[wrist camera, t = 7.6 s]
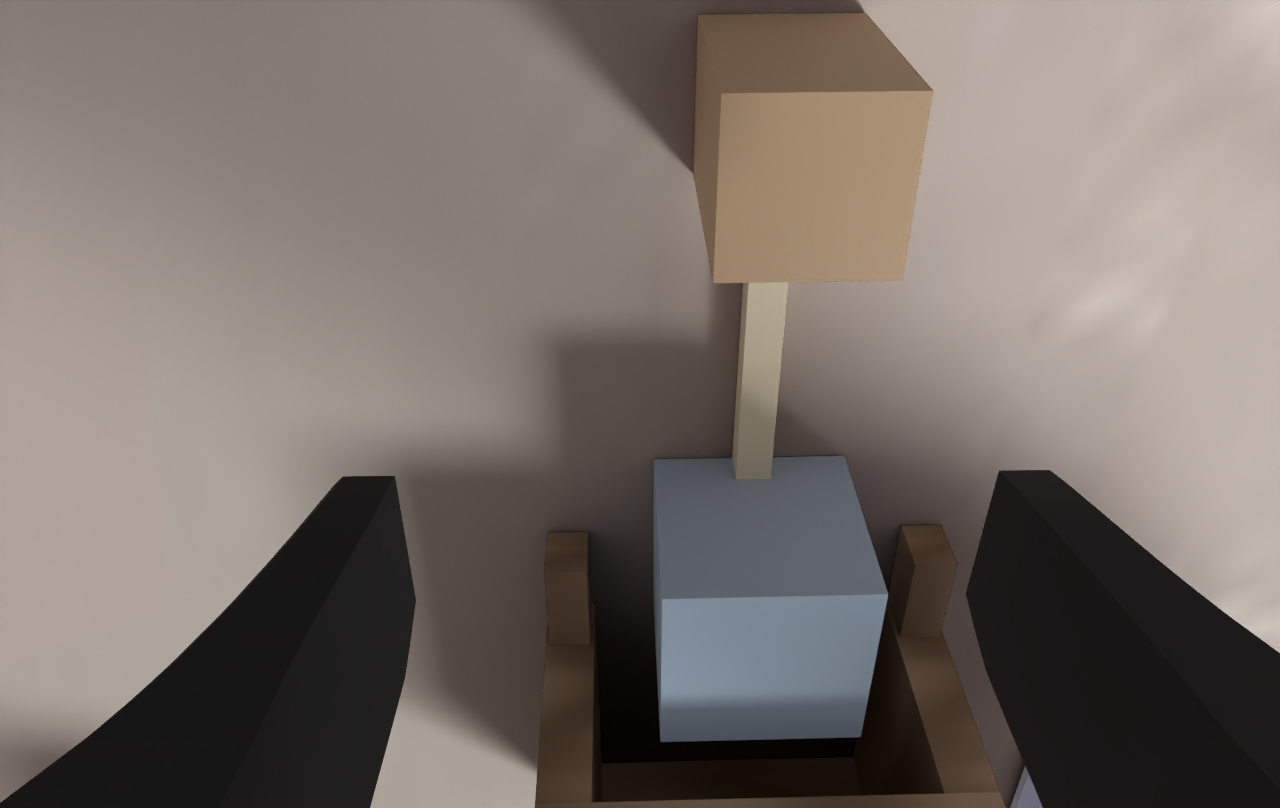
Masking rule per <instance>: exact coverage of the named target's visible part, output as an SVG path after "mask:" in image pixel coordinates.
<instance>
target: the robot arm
mask: <svg viewBox="0 0 1280 808" xmlns="http://www.w3.org/2000/svg"><path fill="white" fill-rule="evenodd" d="M966 596H967V600H968V604H969V608H970V612H971V616H972V620H973V624H974V628H975V632H976V636H977V640H978V643H979V647H980V650H981V654H982V657H983V661H984V664H985V668H986V671H987V674H988V676H989V679H990V681H991V684H992V686H993V689H994V691H995V694H996V696H997V699H998V701H999V703H1000V706H1001V708H1002V711H1003V713H1004V716H1005V718H1006V721H1007V723H1008V726H1009V728H1010V730H1011V733H1012V735H1013V738H1014V740H1015V742H1016V745H1017V747H1018V750H1019V752H1020V754H1021V757H1022V759H1023V761H1024V764H1025V767H1024V770H1023V773H1022V776H1021V778H1020V781H1019V784H1018V787H1017V790H1016V793H1015V796H1014V798H1013V801H1012V804H1011V807H1010V808H1280V653H1279V652H1277V651H1276V650H1274V649H1273V648H1272V647H1270V646H1269V645H1268V644H1266V643H1265V642H1264V641H1262V640H1261V639H1259V638H1258V637H1257V636H1255V635H1254V634H1253V633H1251V632H1250V631H1249V630H1247V629H1246V628H1244V627H1243V626H1242V625H1240V624H1239V623H1238V622H1236V621H1235V620H1234V619H1232V618H1231V617H1229V616H1228V615H1227V614H1226V613H1224V612H1223V611H1222V610H1220V609H1219V608H1218V607H1216V606H1215V605H1214V604H1213V603H1211V602H1210V601H1209V600H1207V599H1206V598H1205V597H1204V596H1202V595H1201V594H1200V593H1198V592H1197V591H1196V590H1195V589H1193V588H1192V587H1191V586H1190V585H1188V584H1187V583H1186V582H1185V581H1183V580H1182V579H1181V578H1180V577H1178V576H1177V575H1176V574H1175V573H1173V572H1172V571H1171V570H1170V569H1169V568H1167V567H1166V566H1165V565H1164V564H1162V563H1161V562H1160V561H1159V560H1158V559H1156V558H1155V557H1154V556H1153V555H1152V554H1150V553H1149V552H1148V551H1147V550H1146V549H1144V548H1143V547H1142V546H1141V545H1139V544H1138V543H1137V542H1136V541H1135V540H1134V539H1132V538H1131V537H1130V536H1129V535H1128V534H1126V533H1125V532H1124V531H1123V530H1122V529H1120V528H1119V527H1118V526H1117V525H1116V524H1115V523H1113V522H1112V521H1111V520H1110V519H1109V518H1107V517H1106V516H1105V515H1104V514H1103V513H1102V512H1100V511H1099V510H1098V509H1097V508H1096V507H1094V506H1093V505H1092V504H1091V503H1090V502H1088V501H1087V500H1086V499H1085V498H1084V497H1083V496H1081V495H1080V494H1079V493H1078V492H1076V491H1075V490H1074V489H1073V488H1072V487H1070V486H1069V485H1068V484H1067V483H1065V482H1064V481H1063V480H1062V479H1060V478H1059V477H1058V476H1057V475H1055V474H1054V473H1053V472H1051V471H1050V470H1020V471H999V473H998V477H997V480H996V484H995V488H994V491H993V495H992V499H991V503H990V506H989V510H988V514H987V517H986V521H985V525H984V529H983V532H982V536H981V540H980V543H979V547H978V551H977V555H976V558H975V562H974V566H973V569H972V573H971V577H970V581H969V584H968V588H967V592H966ZM415 603H416V598H415V592H414V586H413V581H412V575H411V569H410V563H409V557H408V551H407V545H406V539H405V534H404V528H403V522H402V516H401V510H400V504H399V498H398V492H397V486H396V481H395V476H353V477H342V478H341V479H340V480H339V481H338V482H337V483H336V484H335V485H334V486H333V487H332V488H331V490H330V491H329V492H328V493H327V494H326V496H325V497H324V498H323V499H322V500H321V501H320V503H319V504H318V505H317V506H316V507H315V509H314V510H313V511H312V512H311V513H310V515H309V516H308V517H307V518H306V519H305V521H304V522H303V523H302V524H301V525H300V527H299V528H298V529H297V530H296V531H295V532H294V534H293V535H292V536H291V537H290V538H289V539H288V541H287V542H286V543H285V544H284V545H283V546H282V548H281V549H280V550H279V551H278V552H277V553H276V554H275V556H274V557H273V558H272V559H271V560H270V561H269V562H268V563H267V565H266V566H265V567H264V568H263V569H262V570H261V571H260V572H259V573H258V574H257V576H256V577H255V578H254V579H253V580H252V581H251V582H250V583H249V584H248V586H247V587H246V588H245V589H244V590H243V591H242V592H241V593H240V594H239V595H238V597H237V598H236V599H235V600H234V601H233V602H232V603H231V604H230V605H229V606H228V607H227V608H226V609H225V610H224V611H223V612H222V614H221V615H220V616H219V617H218V618H217V619H216V620H215V621H214V622H213V623H212V624H211V625H210V626H209V627H208V628H207V629H206V630H205V631H204V632H202V634H200V635H199V636H198V637H197V638H196V639H195V640H194V641H193V642H192V643H191V644H190V645H189V646H188V647H187V648H186V649H185V650H184V651H183V652H182V653H181V654H180V655H179V656H178V657H177V658H176V659H175V660H174V661H173V662H172V663H171V664H170V665H169V666H168V667H167V668H166V669H165V670H164V671H163V672H162V673H161V674H159V675H158V676H157V677H156V678H155V679H154V680H153V681H152V682H151V683H150V684H149V685H148V686H146V687H145V688H144V689H143V690H142V691H141V692H140V693H139V694H138V695H136V696H135V697H134V698H133V699H132V700H131V701H130V702H128V703H127V704H126V705H125V706H124V707H123V708H121V709H120V710H119V711H118V712H117V713H116V714H114V715H113V716H112V717H111V718H110V719H109V720H107V721H106V722H105V723H104V724H103V725H102V726H100V727H99V728H98V729H97V730H96V731H94V732H93V733H92V734H91V735H89V736H88V737H87V738H86V739H84V740H83V741H82V742H81V743H79V744H78V745H77V746H75V747H74V748H73V749H71V750H70V751H69V752H67V753H66V754H65V755H63V756H62V757H61V758H59V759H58V760H57V761H55V762H54V763H53V764H51V765H50V766H49V767H47V768H46V769H45V770H43V771H42V772H41V773H39V774H38V775H37V776H35V777H34V778H33V779H31V780H30V781H29V782H27V783H26V784H25V785H23V786H22V787H21V788H19V789H18V790H17V791H15V792H14V793H13V794H11V795H10V796H9V797H8V798H6V799H5V800H4V801H2V802H1V803H0V808H370V806H371V802H372V798H373V795H374V791H375V787H376V784H377V780H378V776H379V773H380V769H381V765H382V762H383V758H384V754H385V751H386V747H387V743H388V740H389V736H390V732H391V728H392V725H393V721H394V717H395V713H396V710H397V706H398V702H399V698H400V695H401V691H402V687H403V683H404V679H405V674H406V667H407V660H408V654H409V647H410V640H411V633H412V625H413V618H414V610H415Z"/></svg>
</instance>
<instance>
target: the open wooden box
mask: <svg viewBox="0 0 1280 808" xmlns="http://www.w3.org/2000/svg"><path fill="white" fill-rule="evenodd" d="M956 568H957V562H956V560H955V557H954V555H953V552H952V550H951V547H950V545H949V543H948V540H947V538H946V535H945V533H944V530H943V528H942V526H941V525H903V526H901V529H900V534H899V540H898V545H897V550H896V555H895V560H894V566H893V571H892V576H891V581H890V586H889V592H888V599H887V604H886V609H885V614H884V619H883V624H882V629H881V635H880V640H879V645H878V650H877V655H876V660H875V666H874V671H873V676H872V681H871V686H870V691H869V697H868V702H867V707H866V712H865V717H864V722H863V728H862V733H861V737H857V740H856V745H855V751H854V756H853V757H843V758H802V759H761V760H720V761H679V762H639V763H602V759H601V736H600V713H599V690H598V667H597V643H596V620H595V603H591V594H590V572H589V550H588V532H559V533H547V542H546V555H545V568H544V577H545V590H546V602H547V614H548V625H547V639H546V654H545V668H544V683H543V697H542V712H541V727H540V741H539V756H538V770H537V785H536V800H535V808H1006V807H1005V804H1004V801H1003V799H1002V796H1001V793H1000V790H999V787H998V785H997V782H996V779H995V776H994V774H993V771H992V768H991V765H990V763H989V760H988V757H987V754H986V752H985V749H984V746H983V743H982V741H981V738H980V735H979V732H978V730H977V727H976V724H975V721H974V719H973V716H972V713H971V710H970V708H969V705H968V702H967V699H966V697H965V694H964V691H963V688H962V686H961V683H960V680H959V677H958V675H957V672H956V669H955V666H954V664H953V661H952V658H951V655H950V653H949V650H948V647H947V644H946V642H945V639H944V636H943V633H942V631H941V629H942V625H943V621H944V617H945V613H946V609H947V605H948V601H949V596H950V592H951V588H952V584H953V580H954V576H955V572H956Z"/></svg>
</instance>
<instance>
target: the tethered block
mask: <svg viewBox="0 0 1280 808" xmlns="http://www.w3.org/2000/svg"><path fill="white" fill-rule="evenodd" d="M932 95H933V90H932V89H931V88H930V86H929V85H928V84H927V83H926V82H925V81H924V80H923V78H922V77H921V76H920V75H919V74H918V73H917V71H916V70H915V69H914V68H913V67H912V66H911V65H910V63H909V62H908V61H907V60H906V59H905V58H904V56H903V55H902V54H901V53H900V52H899V51H898V50H897V48H896V47H895V46H894V45H893V44H892V43H891V41H890V40H889V39H888V38H887V37H886V36H885V34H884V33H883V32H882V31H881V30H880V29H879V28H878V26H877V25H876V24H875V23H874V22H873V21H872V19H871V18H870V17H869V16H868V15H867V14H866V13H798V14H704V15H698V31H697V67H696V103H695V139H694V181H695V186H696V192H697V197H698V203H699V208H700V214H701V219H702V225H703V230H704V235H705V241H706V246H707V252H708V257H709V263H710V268H711V274H712V279H713V283H743V292H742V308H741V324H740V340H739V357H738V373H737V389H736V405H735V422H734V438H733V454H732V458H703V459H654V515H653V603H654V624H655V644H656V664H657V684H658V704H659V725H660V742H684V741H725V740H767V739H809V738H850V737H861V733H862V728H863V722H864V717H865V712H866V707H867V702H868V697H869V691H870V686H871V681H872V676H873V671H874V666H875V660H876V655H877V650H878V645H879V640H880V635H881V629H882V624H883V619H884V614H885V609H886V604H887V599H888V592H887V589H886V586H885V582H884V579H883V576H882V573H881V570H880V567H879V563H878V560H877V557H876V554H875V551H874V548H873V545H872V541H871V538H870V535H869V532H868V529H867V526H866V523H865V519H864V516H863V513H862V510H861V507H860V504H859V501H858V497H857V494H856V491H855V488H854V485H853V482H852V478H851V475H850V472H849V469H848V466H847V463H846V460H845V456H809V457H773V447H774V436H775V425H776V414H777V403H778V392H779V381H780V370H781V359H782V348H783V337H784V326H785V315H786V304H787V293H788V282H833V281H897V280H902V279H903V273H904V267H905V260H906V254H907V248H908V242H909V236H910V230H911V224H912V218H913V212H914V205H915V199H916V193H917V187H918V181H919V175H920V169H921V163H922V157H923V150H924V144H925V138H926V132H927V126H928V120H929V114H930V108H931V102H932Z"/></svg>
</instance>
